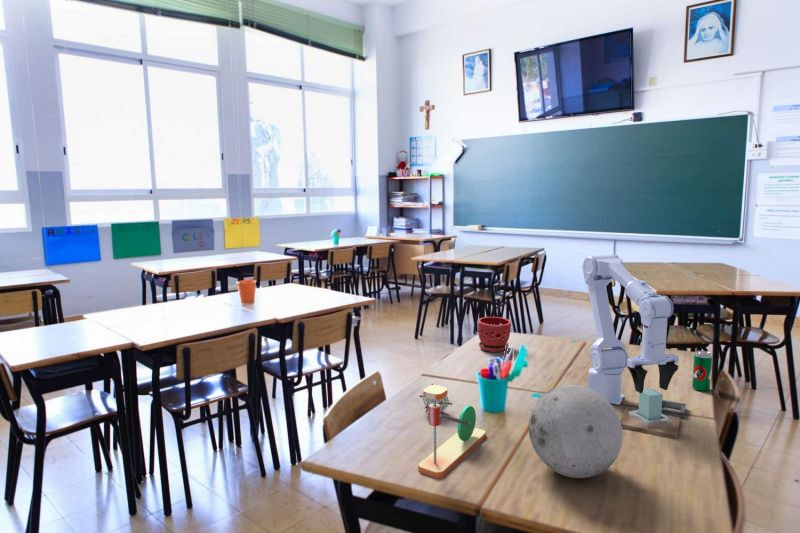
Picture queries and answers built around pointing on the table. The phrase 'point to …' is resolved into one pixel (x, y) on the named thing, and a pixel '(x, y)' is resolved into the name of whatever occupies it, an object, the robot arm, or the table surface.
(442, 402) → the grey wire strut frame
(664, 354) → the robot arm
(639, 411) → the teal peg
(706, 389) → the soda can
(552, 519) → the table surface
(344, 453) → the table surface
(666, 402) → the stand socket
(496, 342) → the plant pot
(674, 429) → the socket board
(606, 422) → the moon model
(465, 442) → the crank mechanism
